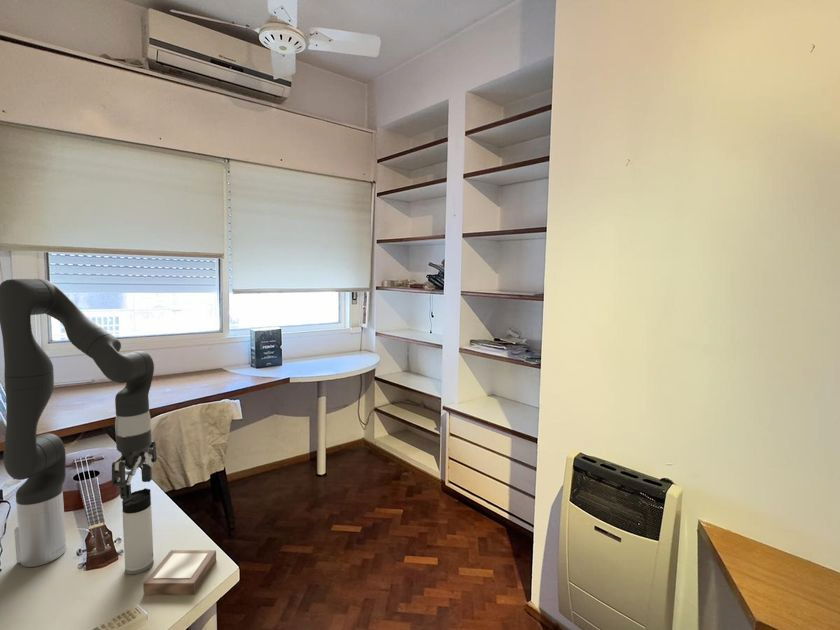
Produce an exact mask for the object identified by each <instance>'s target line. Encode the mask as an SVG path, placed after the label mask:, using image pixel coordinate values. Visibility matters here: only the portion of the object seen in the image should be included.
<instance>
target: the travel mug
mask: <svg viewBox="0 0 840 630" xmlns="http://www.w3.org/2000/svg"><path fill="white" fill-rule="evenodd" d="M151 498H152V495H151V488H146V487H145V488H143V489H140V490H136V491H133V492H132V491H131V497H130V498H129V499H121V500H122V501H121V503H122V504H121V505H122V510H121V512H122V529H123V530H122V532H123V533H122V535H123V551H124V552H123V553H124V571H125V573H126V574H128V575H137V574H141V573H144V572H145V571H147V570H148V569H150V568H151V567H152V566H153V564H154V541H153V540H154V539H153V519H152V518H153V516H152V515H153V514H152V499H151Z"/></svg>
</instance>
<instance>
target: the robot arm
mask: <svg viewBox="0 0 840 630" xmlns="http://www.w3.org/2000/svg"><path fill="white" fill-rule="evenodd" d="M36 315H47V316H49V317H51V318H53V319H55V320H57V321H59V322H60V323H61V324H62V326H63V327H64V331H65V334H66V336H67V339H68V341H69V342H70V343H71V344H72V345H73V346H74V347H75V348H77V350H79V351H81V352H82V353H83V354H85V355H86V356H87V357H89V358H91V359H92V360H93V361H94V363H95V364H96V366H97V367H98V368H99V370H100V371H101V373H102V374H103V375H104V377H106V378H107V379H108V380H110V381H111V382H114V383H117V384H125V383H126V384H125V386H124V388H122V389H121V390H120V391H118V392H117V393H116V394H115V397H114V405H115V422H114V428H115V444H116V445H115V446H116V450H117V451H118V453H121V457H120V460H119V461H113V462H112V463H111V487H119V497H120V499H121V500H123V499H129V498H130V497H131V493H132V486H131V485H132V484H131V480H132V479H133V477H134V476H135V475H136V472H137V470H138V469H139V467H141V469H140V471H141V481H142V483H150V482H151V481H152V478H153V475H152V472H153V471H152V468H153V466H154V463H156V462H157V459H158V458H157V444H156V441H153V439H152V438H153V437H152V419H151V414H150V403H149V402H150V399H149V393H150V390H151V387H152V382H153V378H154V372H155V363H154V361H153V358H152V356H151V355H150V354H149V353H148V352H146V351H144V350H135V351H131V352H126V353H120V350H121V348H122V344H121V341H120V340H119V339H118V338H117V337H115V336H114V335H113V334H112V333H110V332H108V331H107V330H106V329H104V328H103V327H102V326H100V325H99V324H97V323H96V322H94V321H93V320H92V319H90V317H88V316H87V314H85V313H84V312H83V311H82V309H80V308H79V307H78V305H77V304H75V303H74V302H73V300H71V299H70V298H69V296H67V294H66V293H64V291H62V290H61V288H59V287H58V286H57V285H56V284H55V283H53V282H51V281H50V280H47V279H43V278H41V279H40V278H14V279H13V278H11V279H6V280H4V281H2V282H1V283H0V331H1V337H2V347H3V348H2V349H3V357H4V358H3V359H4V373H3V374H4V389H5V390H4V391H5V399H6V400H5V405H6V406H5V407H6V409H5V412H6V413H5V416H6V418H5V423H6V424H5V435H4V436H5V437H4V445H3V464H4V469H5V471H6V473H7V474H8V476H10V478H12V479H14V480H18V481H22V480H25V481H24V483H22V485H20V487H19V488H18V489H17V490H16V492H15V502H16V503H15V504H16V515H17V516H16V517H17V527H15V529H14V533H13V534H14V544H15V555H16V557H15V558H16V559H15V560H16V564H20V565H21V566H22V567H26V568H34V567H38V566H39V567H40V566H43V565H46V564H48V563H51V562H53V561H55V560H57V559H58V558H59V557H62V555H63V554H64V553H65V552H66V550H67V541H66V540H67V539H66V521H65V509H64V508H65V507H64V505H65V504H64V494H63V493H64V492H63V491H64V490H63V489H64V488H63V485H64V482H65V481H66V471H67V469H66V464H67V463H66V460H67V458H66V457H67V456H66V448H65V444H64V442H63V441H62V439H61V438H60V437H59V436H58V435H56V434H54V433H43V434H39V435H37V431H38V424H39V421H40V418H41V416H42V414H43V412H44V410H45V409H46V407H47V405H48V403H49V402H50V401H49V400H50V399H51V397H52V395H53V392H54V386H55V381H54V380H55V379H54V376H55V375H54V365H53V361H52V360H51V358H50V357H49V355H48V354H47V353H46V351H44V349H43V348H42V347H41V345H39V343H38V342H37V341H36V339H35V336H34V335H33V331H32V323H31V321H32V320H31V319H32V318H31V317H32V316H36ZM150 455H151V456H150ZM127 470H128V471H127Z"/></svg>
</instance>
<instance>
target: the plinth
mask: <svg viewBox="0 0 840 630" xmlns="http://www.w3.org/2000/svg"><path fill="white" fill-rule="evenodd" d="M216 563H217V550H215V549H213V550H212V549H211V550H210V549H209V550H208V549H207V550H205V549H204V550H203V549H202V550H199V549H198V550H193V549H191V550H190V549H189V550H184V549H183V550H180V549H179V550H175V549H174V550H173V549H172V550H170V551H169V552H168V554H166V555H165V557H164V558H163V559H162V560H161V562H160V563H159V564H158V566H156V568H155V569H154V570H153V571H152V572H151V573H150V575H149V576H148V577H147V579H145V581H144V582H143V583H142V584H143V595H144V596H148V595H149V596H164V595H166V596H169V595H170V596H171V595H174V596H177V595H178V596H181V595H184V596H185V595H188V596H189V595H190V596H191V595H193V596H194V595H195V594H196V593H197V591H198V590H199V588H200V587H201V585H202V584H203V581H204V580H205V579H206V577H207V576H208V575H209V573H210V571H211V569H212V568H213V567H214V565H215V564H216Z"/></svg>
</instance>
